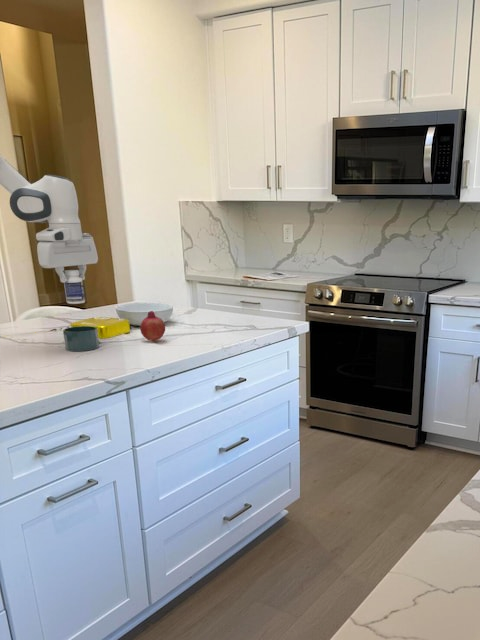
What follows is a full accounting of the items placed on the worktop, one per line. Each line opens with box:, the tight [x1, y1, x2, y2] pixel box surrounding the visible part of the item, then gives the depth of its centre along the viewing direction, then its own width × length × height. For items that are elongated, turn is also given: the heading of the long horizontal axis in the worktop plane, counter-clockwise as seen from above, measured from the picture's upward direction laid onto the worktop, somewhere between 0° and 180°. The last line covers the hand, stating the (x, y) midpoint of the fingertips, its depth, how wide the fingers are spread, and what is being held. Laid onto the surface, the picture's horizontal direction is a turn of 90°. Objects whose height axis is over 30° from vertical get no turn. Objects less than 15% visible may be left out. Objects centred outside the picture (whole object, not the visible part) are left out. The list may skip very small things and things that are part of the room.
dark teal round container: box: [62, 326, 100, 352], centre depth 192 cm, size 10×10×6 cm
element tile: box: [70, 315, 131, 340], centre depth 213 cm, size 15×15×5 cm
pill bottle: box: [63, 269, 86, 305], centre depth 187 cm, size 5×5×10 cm
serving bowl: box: [115, 301, 174, 327], centre depth 231 cm, size 21×21×7 cm
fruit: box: [139, 311, 166, 342], centre depth 202 cm, size 8×8×10 cm
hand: (72, 281), depth 186 cm, fingers closed on pill bottle, 5 cm apart
